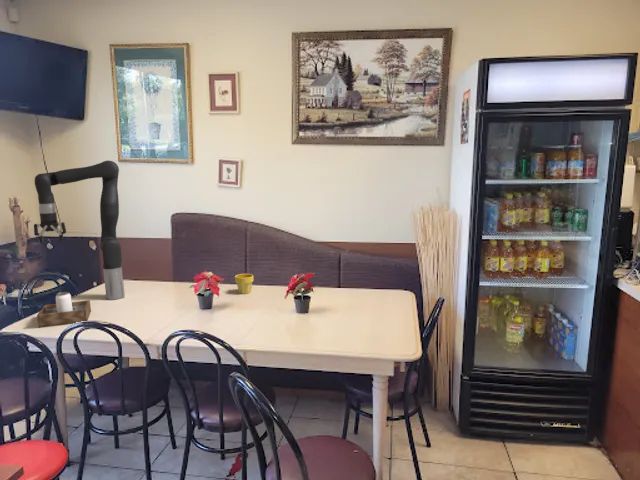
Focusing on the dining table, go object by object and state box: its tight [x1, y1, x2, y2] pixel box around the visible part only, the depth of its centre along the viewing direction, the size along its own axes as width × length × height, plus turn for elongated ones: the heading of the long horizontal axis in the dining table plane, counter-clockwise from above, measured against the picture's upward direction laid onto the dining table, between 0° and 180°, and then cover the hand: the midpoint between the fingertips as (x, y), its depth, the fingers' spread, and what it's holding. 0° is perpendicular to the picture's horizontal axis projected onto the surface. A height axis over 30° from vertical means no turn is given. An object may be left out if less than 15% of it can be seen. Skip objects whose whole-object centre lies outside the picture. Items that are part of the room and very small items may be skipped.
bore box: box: [36, 299, 92, 329], centre depth 217 cm, size 20×16×6 cm
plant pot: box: [234, 273, 254, 295], centre depth 256 cm, size 10×10×10 cm
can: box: [55, 291, 73, 313], centre depth 216 cm, size 6×6×12 cm
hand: (51, 242), depth 237 cm, fingers open, 8 cm apart
